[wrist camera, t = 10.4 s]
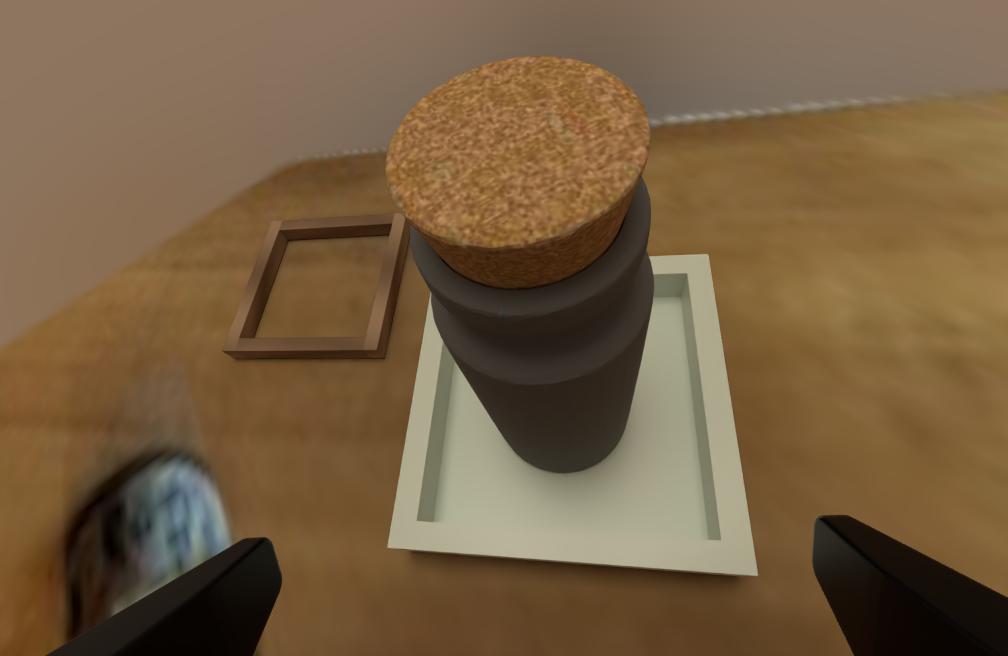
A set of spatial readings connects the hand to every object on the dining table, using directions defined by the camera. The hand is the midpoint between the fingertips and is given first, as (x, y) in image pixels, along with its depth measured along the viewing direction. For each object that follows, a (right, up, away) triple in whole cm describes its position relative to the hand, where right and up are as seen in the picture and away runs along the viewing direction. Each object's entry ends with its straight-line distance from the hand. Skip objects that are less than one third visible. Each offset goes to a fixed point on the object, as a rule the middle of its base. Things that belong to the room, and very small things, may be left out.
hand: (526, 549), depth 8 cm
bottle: (+2, 0, +14) cm, 14 cm away
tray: (+3, 0, +14) cm, 14 cm away
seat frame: (-11, +6, +20) cm, 23 cm away
